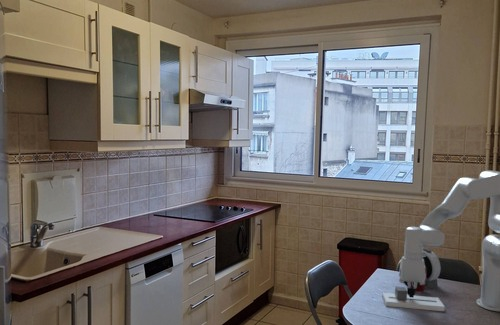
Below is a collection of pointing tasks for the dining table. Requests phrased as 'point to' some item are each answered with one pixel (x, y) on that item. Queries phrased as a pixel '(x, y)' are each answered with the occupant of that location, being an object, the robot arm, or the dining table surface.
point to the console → (414, 302)
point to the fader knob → (401, 293)
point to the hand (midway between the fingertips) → (410, 296)
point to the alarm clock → (431, 268)
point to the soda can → (421, 287)
